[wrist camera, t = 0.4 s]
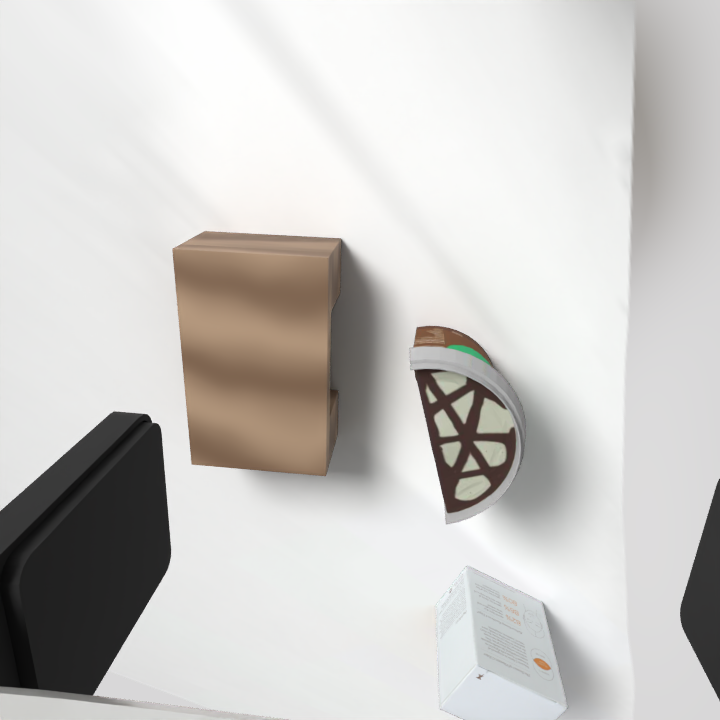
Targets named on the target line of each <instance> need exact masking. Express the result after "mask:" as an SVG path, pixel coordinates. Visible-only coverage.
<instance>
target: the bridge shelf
mask: <svg viewBox="0 0 720 720" xmlns="http://www.w3.org/2000/svg"><path fill="white" fill-rule="evenodd" d="M173 261H174V272H175V283H176V294H177V305H178V316H179V328H180V339H181V350H182V361H183V372H184V384H185V395H186V406H187V417H188V428H189V439H190V451H191V462H192V464H193V465H205V466H216V467H227V468H239V469H250V470H262V471H273V472H285V473H296V474H308V475H319V476H326V474H327V470H328V467H329V463H330V460H331V456H332V453H333V449H334V445H335V442H336V438H337V433H338V391H337V390H330V360H331V311H332V309H333V307H334V305H335V303H336V301H337V299H338V297H339V294H340V281H341V239H339V238H320V237H302V236H283V235H264V234H245V233H227V232H208V231H204V232H203V233H201V234H199V235H197V236H195V237H193V238H192V239H190V240H188V241H186V242H184V243H183V244H181V245H179V246H177V247H175V248H173Z"/></svg>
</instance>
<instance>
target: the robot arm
mask: <svg viewBox="0 0 720 720" xmlns="http://www.w3.org/2000/svg"><path fill="white" fill-rule="evenodd" d="M170 558H171V543H170V531H169V519H168V507H167V495H166V483H165V471H164V459H163V446H162V434H161V428H160V426H159V425H158V424H157V423H152V421H151V418H150V417H149V416H148V415H147V414H137V413H126V412H113V413H111V414H110V415H108V416H107V417H106V418H105V419H104V420H103V421H102V422H101V423H99V424H98V425H97V426H96V427H95V428H94V429H93V430H92V431H90V432H89V433H88V434H87V435H86V436H85V437H84V438H82V439H81V440H80V441H79V442H78V443H77V444H76V445H75V446H73V447H72V448H71V449H70V450H69V451H68V452H67V453H66V454H64V455H63V456H62V457H61V458H60V459H59V460H58V461H57V462H55V463H54V464H53V465H52V466H51V467H50V468H49V469H47V470H46V471H45V472H44V473H43V474H42V475H41V476H40V477H38V478H37V479H36V480H35V481H34V482H33V483H32V484H31V485H29V486H28V487H27V488H26V489H25V490H24V491H23V492H21V493H20V494H19V495H18V496H17V497H16V498H15V499H14V500H12V501H11V502H10V503H9V504H8V505H7V506H6V507H5V508H3V509H2V510H1V511H0V720H288V719H280V718H272V717H264V716H256V715H248V714H240V713H231V712H223V711H215V710H207V709H199V708H191V707H182V706H175V705H166V704H158V703H150V702H143V701H134V700H126V699H117V698H109V697H100V696H93V694H94V693H95V691H96V689H97V688H98V686H99V684H100V682H101V681H102V679H103V677H104V676H105V674H106V672H107V671H108V669H109V667H110V666H111V664H112V662H113V661H114V659H115V657H116V656H117V654H118V652H119V651H120V649H121V647H122V646H123V644H124V642H125V641H126V639H127V637H128V635H129V634H130V632H131V630H132V629H133V627H134V625H135V624H136V622H137V620H138V619H139V617H140V615H141V614H142V612H143V610H144V609H145V607H146V605H147V604H148V602H149V600H150V599H151V597H152V595H153V594H154V592H155V590H156V588H157V587H158V585H159V583H160V582H161V580H162V578H163V577H164V575H165V573H166V571H167V569H168V566H169V563H170ZM680 617H681V623H682V627H683V630H684V632H685V634H686V636H687V638H688V640H689V642H690V644H691V646H692V648H693V650H694V651H695V653H696V655H697V657H698V659H699V661H700V663H701V665H702V667H703V669H704V671H705V673H706V675H707V677H708V679H709V681H710V683H711V684H712V687H713V688H714V690H715V692H716V694H717V696H718V698H719V700H720V479H719V481H718V483H717V486H716V490H715V493H714V496H713V499H712V503H711V506H710V510H709V513H708V516H707V520H706V523H705V526H704V530H703V533H702V537H701V540H700V543H699V546H698V550H697V554H696V557H695V560H694V563H693V567H692V570H691V573H690V577H689V580H688V584H687V587H686V590H685V594H684V597H683V600H682V604H681V609H680Z"/></svg>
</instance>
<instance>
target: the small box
mask: <svg viewBox="0 0 720 720" xmlns="http://www.w3.org/2000/svg"><path fill="white" fill-rule="evenodd" d="M436 636H437V661H438V691H439V709H440V710H443V711H445V712H447V713H450V714H452V715H454V716H456V717H458V718H461V719H463V720H556V719H557V718H558V717H559V716H560V715H561V714H562V713H563V712H565V711H566V710H567V708H568V704H567V700H566V696H565V692H564V687H563V683H562V679H561V675H560V671H559V667H558V663H557V659H556V655H555V651H554V647H553V643H552V639H551V635H550V631H549V627H548V622H547V619H546V614H545V611H544V606H543V603H542V602H541V601H539V600H537V599H535V598H533V597H531V596H529V595H527V594H524V593H522V592H520V591H518V590H516V589H514V588H512V587H510V586H508V585H506V584H504V583H502V582H500V581H498V580H496V579H494V578H492V577H489V576H487V575H485V574H483V573H481V572H479V571H477V570H475V569H473V568H471V567H469V566H466V567H465V568H464V570H463V571H462V572H461V573H460V575H459V576H458V577H457V579H456V580H455V581H454V582H453V584H452V585H451V586H450V588H449V589H448V590H447V592H446V593H445V594H444V595H443V597H442V598H441V599H440V600H439V602H438V603H437V604H436Z"/></svg>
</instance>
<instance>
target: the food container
mask: <svg viewBox="0 0 720 720" xmlns="http://www.w3.org/2000/svg"><path fill="white" fill-rule="evenodd" d="M410 364H411V365H410V370H414V371H415V377H416V380H417V383H418V387H419V391H420V396H421V400H422V405H423V409H424V414H425V418H426V422H427V427H428V432H429V437H430V441H431V446H432V450H433V454H434V458H435V462H436V467H437V472H438V476H439V481H440V485H441V489H442V494H443V498H444V505H445V521H446V524H450V523H455V522H459V521H462V520H465V519H468V518H471V517H473V516H475V515H477V514H479V513H481V512H483V511H484V510H486V509H487V508H489V507H490V506H491V505H493V504H494V503H495V502H496V501H497V500H498V499H499V498H500V497H501V496H502V495H503V494H504V493H505V491H506V490H507V489H508V487H509V486H510V485H511V483H512V482H513V480H514V478H515V476H516V474H517V472H518V470H519V468H520V465H521V461H522V458H523V453H524V446H525V437H526V425H525V417H524V413H523V409H522V406H521V403H520V401H519V399H518V397H517V395H516V393H515V391H514V390H513V389H512V387H511V386H510V384H509V383H508V381H507V380H506V379H505V378H504V377H503V376H502V375H501V374H500V373H499V372H498V371H497V370H495V369H494V368H493V366H492V364H491V362H490V359H489V357H488V355H487V354H486V353H485V351H484V350H483V348H482V347H481V346H480V345H479V344H478V343H477V342H476V341H474V340H473V339H472V338H470V337H469V336H467V335H465V334H463V333H461V332H459V331H457V330H454V329H450V328H446V327H440V326H424V327H417V329H416V335H415V341H414V347H413V348H410Z"/></svg>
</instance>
